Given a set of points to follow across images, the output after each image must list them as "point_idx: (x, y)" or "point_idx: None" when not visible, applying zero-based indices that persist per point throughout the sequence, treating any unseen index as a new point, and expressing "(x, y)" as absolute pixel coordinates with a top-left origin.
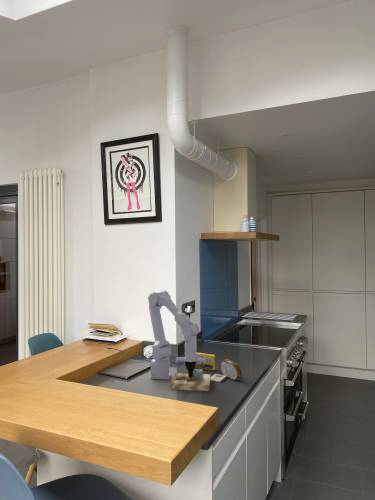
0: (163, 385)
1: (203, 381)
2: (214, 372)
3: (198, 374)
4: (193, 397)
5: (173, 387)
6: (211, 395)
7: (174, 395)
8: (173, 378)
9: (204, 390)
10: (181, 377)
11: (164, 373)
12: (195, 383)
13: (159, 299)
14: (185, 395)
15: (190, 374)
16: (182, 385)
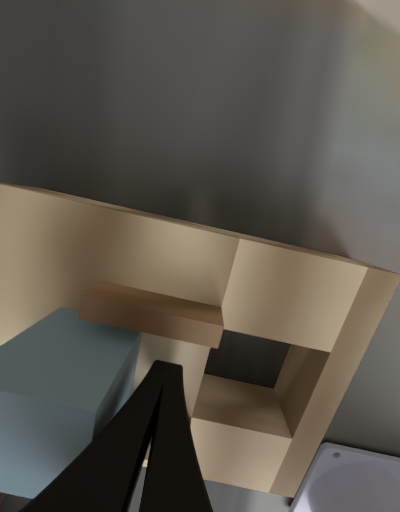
0: (386, 348)
1: (44, 277)
2: None
3: (46, 360)
4: (184, 40)
5: (343, 257)
6: (18, 76)
7: (351, 118)
8: (338, 394)
9: (76, 196)
10: (248, 418)
11: (381, 509)
12: (130, 230)
13: None
14: (251, 105)
15: (162, 391)
16: (268, 243)
